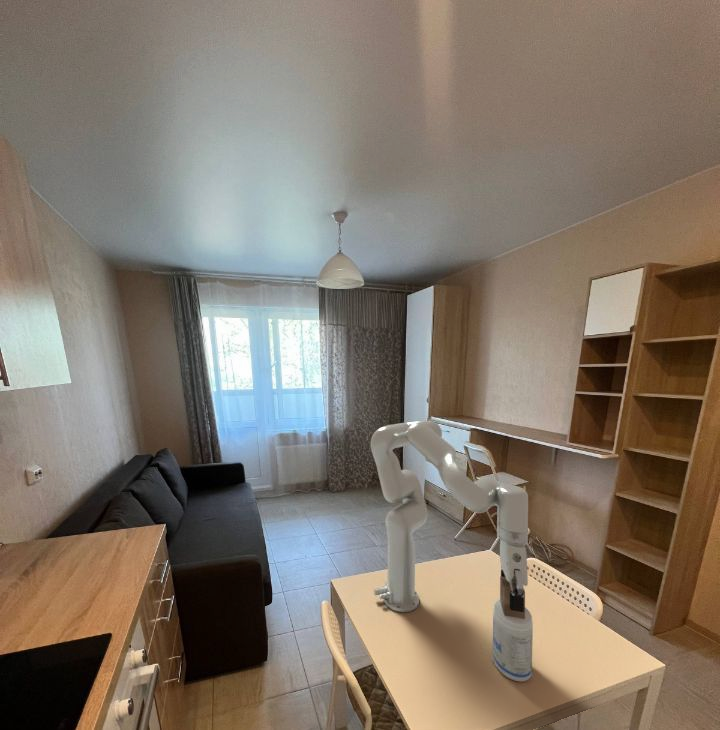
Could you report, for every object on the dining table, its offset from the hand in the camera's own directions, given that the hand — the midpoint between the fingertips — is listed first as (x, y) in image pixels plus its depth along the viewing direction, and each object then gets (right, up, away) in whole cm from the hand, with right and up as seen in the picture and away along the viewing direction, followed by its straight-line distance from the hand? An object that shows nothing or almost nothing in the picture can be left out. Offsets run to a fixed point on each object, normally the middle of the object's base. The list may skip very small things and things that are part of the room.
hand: (511, 597), depth 83 cm
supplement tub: (0, -18, -1) cm, 18 cm away
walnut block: (0, -3, 0) cm, 3 cm away
